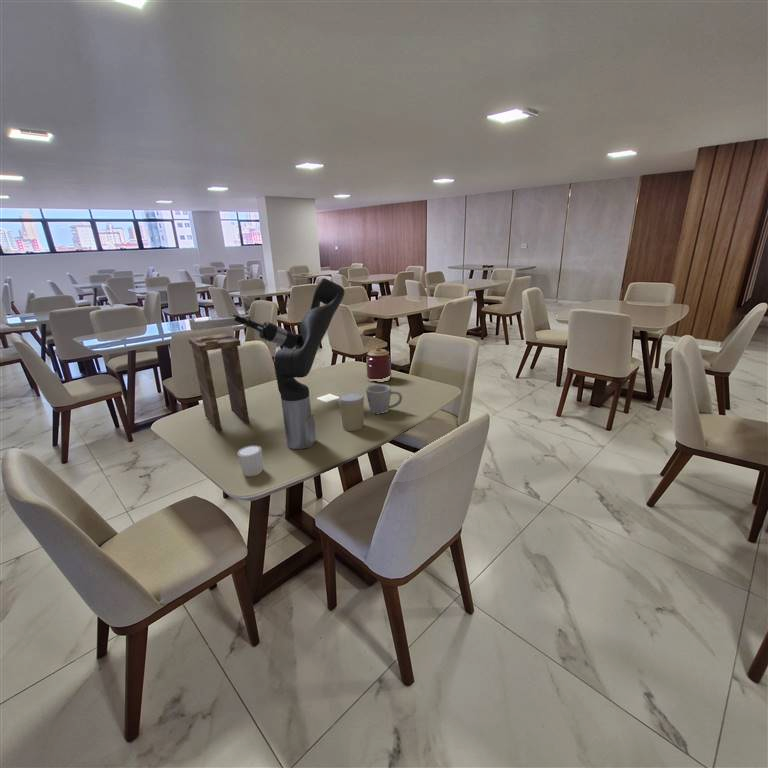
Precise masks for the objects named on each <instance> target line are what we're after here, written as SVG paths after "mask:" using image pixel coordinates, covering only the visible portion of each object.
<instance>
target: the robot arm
mask: <svg viewBox="0 0 768 768" xmlns="http://www.w3.org/2000/svg"><path fill="white" fill-rule="evenodd" d="M344 296H345V289H344V287H343V286H341V285H340V284H338V283H335V282H334V281H332V280H329V279H327V278H321V279H319V281H318V283H317V285H316V287H315V290H314V293H313V296H312V302H311V305H310V310H308V311H307V312H306V314H305V315H304V317H303V319H302V320H301V322H300V324H299V332H300V334H299V333H293V332H291V331H289V330H286V329H284V328H283V327H281V326H278V325H276V324H274V323H272V322H269V321H264V322H263V323H261V322H258V321H255V320H252V319H251V320H248V319H244V318H242V317H240V315H236V314H233V316H232V317H235V321H237V322H239V323H242V324H243V326H245V327H246V328H248V329H250V330H252V331H254V332H255V333H258V334H259V335H258V336H259V338H260V339H262V340H264V341H267V342H269V343H272V344H274V345H278V346H281V347H283V348H280V349H278V350H277V351H276V352H275V355H274V359H273V365H274V373H275V377H276V382H277V389H278V391H279V394H280V399H281V409H282V417H283V423H284V424H283V425H284V431H285V440H286V446H287V448H289V449H293V450H301V449H305V448H309V449H310V448H311V447H312V446H313V445H314V443H315V442H317V441H316V440H317V434H316V427H315V426H316V425H315V415H314V414H312V408H311V396H310V389H309V387H308V386H307V385H306V384H304V383H301V382H299V381H298V380H296V378H298V379H300V378H301V379H302V378H306V377H307V376H308V375H309V373H310V372H311V370H312V367H313V364H314V361H315V358H316V355H317V353H318V350H319V348H320V344H321V343H322V341H323V339H324V337H325V335H326V332H327V331H328V329H329V326H330V324H331V321H332V319H333V317H334V315H335V313H336V312H337V310H338V308H339V306H340V305H341V303H342V302H343V299H344ZM321 303H322V304H323V305H321ZM296 346H297V348H295V347H296Z"/></svg>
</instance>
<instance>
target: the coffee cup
mask: <svg viewBox="0 0 768 768" xmlns="http://www.w3.org/2000/svg"><path fill="white" fill-rule="evenodd" d="M364 400H365V398H364V395H363V394H362V393H357V392H347V393H343V394H341V395H339V397H338V400H337V401H338V403H339V405H338V406H339V411H340V412H339V413H340V419H341V425H342V429H343V430H345V431H347V432H355V431H360V430H362V429H363V428H362V427H364V411H365V410H364V407H365V405H364V402H365V401H364ZM359 429H360V430H359Z"/></svg>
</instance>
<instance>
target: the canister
mask: <svg viewBox="0 0 768 768" xmlns="http://www.w3.org/2000/svg"><path fill="white" fill-rule="evenodd" d="M366 354H367V356H366V357H365V359H366V378H367V377H368V378H369V379H383V378H386V377H388V376H390V375H391V376H392V363H391V358H392V357H391V355H390V352H389V351H388V350H386V349H383V348H381V346H376V347H375V348H373V349H371V350H369V351H368V352H367V353H366Z"/></svg>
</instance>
